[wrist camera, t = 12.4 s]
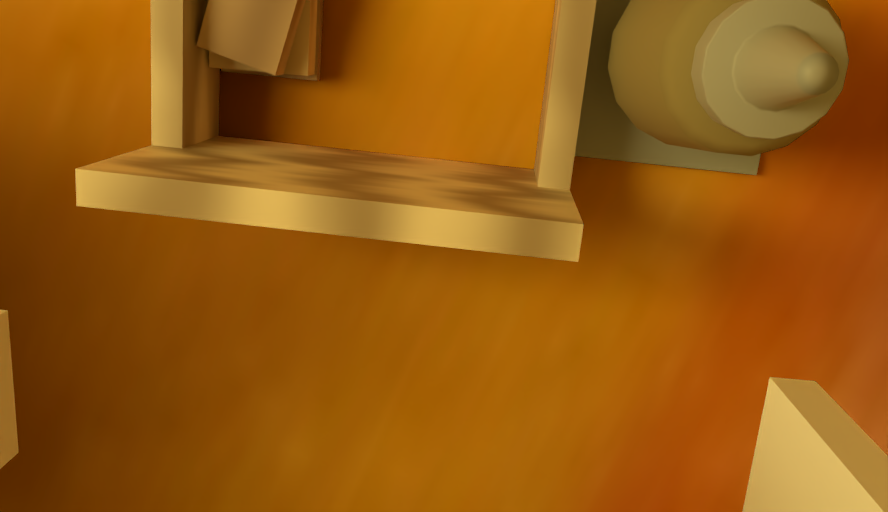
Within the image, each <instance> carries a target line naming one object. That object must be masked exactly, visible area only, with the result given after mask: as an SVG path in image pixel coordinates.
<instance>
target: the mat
mask: <svg viewBox="0 0 888 512" xmlns="http://www.w3.org/2000/svg"><path fill="white" fill-rule="evenodd" d="M630 1H631V0H596V7H595V15H594V22H593V29H592V36H591V43H590V50H589V57H588V64H587V72H586V79H585V86H584V93H583V100H582V107H581V114H580V121H579V129H578V136H577V143H576V150H575V156H580V157H590V158H599V159H609V160H618V161H628V162H637V163H647V164H656V165H666V166H675V167H685V168H694V169H704V170H713V171H723V172H732V173H742V174H751V175H757V170H758V166H759V161H760V156H761V154H757V155H754V156H745V155H735V154H725V153H715V152H709V151H704V150H698V149H692V148H686V147H680V146H674V145H668V144H665V143H663V142H661V141H659V140H657V139H656V138H654V137H652V136H650V135H648V134H647V133H645V132H643V131H641V130H639V129H637V128H636V127H635V125H634V124H633V123H632V121H631V120H630V119H629V118H628V116H627V115H626V114H625V112H624V111H623V110H622V108H621V107H620V106H619V105H618V103H617V102H616V99H615V95H614V91H613V87H612V83H611V79H610V76H609V72H608V61H609V54H610V47H611V40H612V33H613V31H614V29H615V27H616V25H617V24H618V22H619V20H620V18H621V17H622V15H623V13H624V11H625V9H626V8H627V6H628V4H629V2H630Z"/></svg>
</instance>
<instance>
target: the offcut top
mask: <svg viewBox="0 0 888 512" xmlns="http://www.w3.org/2000/svg"><path fill="white" fill-rule="evenodd" d="M305 1H306V0H208V4H207V7H206V11H205V15H204V19H203V23H202V26H201V30H200V34H199V38H198V41H197V45H196V46H198V47H201V48H203V49H206V50H209V51H211V52H214V53H216V54H219V55H222V56H224V57H227V58H230V59H232V60H235V61H238V62H240V63H243V64H246V65H248V66H251V67H253V68H256V69H259V70H261V71H264V72H267V73H269V74H272V75H275V76H276V75H283V74H284V71H285V68H286V65H287V61H288V58H289V55H290V51H291V48H292V45H293V41H294V38H295V35H296V31H297V28H298V25H299V21H300V18H301V15H302V11H303V8H304V5H305Z"/></svg>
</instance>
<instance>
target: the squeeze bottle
mask: <svg viewBox="0 0 888 512" xmlns="http://www.w3.org/2000/svg"><path fill="white" fill-rule="evenodd" d="M848 63H849V57H848V52H847V46H846V41H845V35H844V32H843V30H842V29H841V23H840V19H839V18H838V16H837V15H836V13H835V12H834V10H833V9H832V8H831V6H830V5H829V3H828V2H827V0H631V1H630V2H629V4H628V6H627V8H626V9H625V11H624V13H623V15H622V17H621V18H620V20H619V22H618V24H617V25H616V27H615V29H614V31H613V33H612V40H611V47H610V54H609V61H608V72H609V76H610V79H611V83H612V87H613V91H614V95H615V99H616V102H617V103H618V105H619V106H620V107H621V108H622V110H623V111H624V112H625V114H626V115H627V116H628V118H629V119H630V120H631V121H632V123H633V124H634V125H635V127H636V128H637V129H639V130H641V131H643V132H645V133H647V134H648V135H650V136H652V137H654V138H656V139H657V140H659V141H661V142H663V143H665V144H668V145H674V146H680V147H686V148H692V149H698V150H704V151H709V152H715V153H725V154H735V155H745V156H754V155H757V154H761V153H764V152H768V151H771V150H775V149H778V148H782V147H785V146H787V145H789V144H790V143H792V142H793V141H794V140H796V139H797V138H798V137H800V136H801V135H802V134H804V133H805V132H807V131H808V130H809V129H811V128H812V127H813V126H815V125H816V124H817V123H818V122H819V120H820V119H821V118H822V117H823V116H824V115H826V114H827V112H828V111H829V109H830V108H831V106H832V105H833V103H834V102H835V100H836V99H837V97H838V96H839V94H840V93H841V91H842V90H843V86H844V81H845V77H846V72H847V68H848Z"/></svg>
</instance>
